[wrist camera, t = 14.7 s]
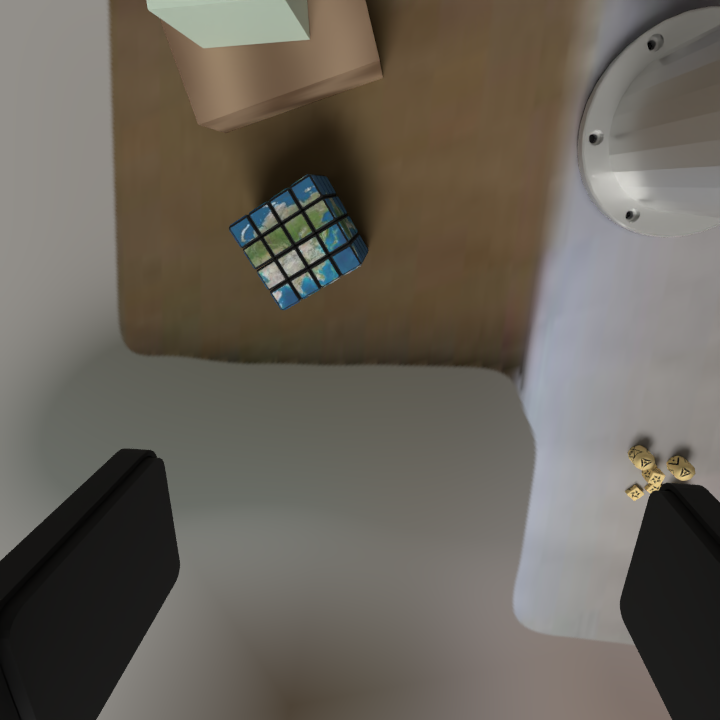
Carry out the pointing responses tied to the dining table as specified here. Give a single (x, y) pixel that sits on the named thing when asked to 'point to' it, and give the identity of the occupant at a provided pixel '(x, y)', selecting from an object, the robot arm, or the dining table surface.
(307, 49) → the brown wooden flat block
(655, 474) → the dice set
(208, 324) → the dining table surface
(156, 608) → the robot arm
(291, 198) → the puzzle
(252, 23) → the sage block
